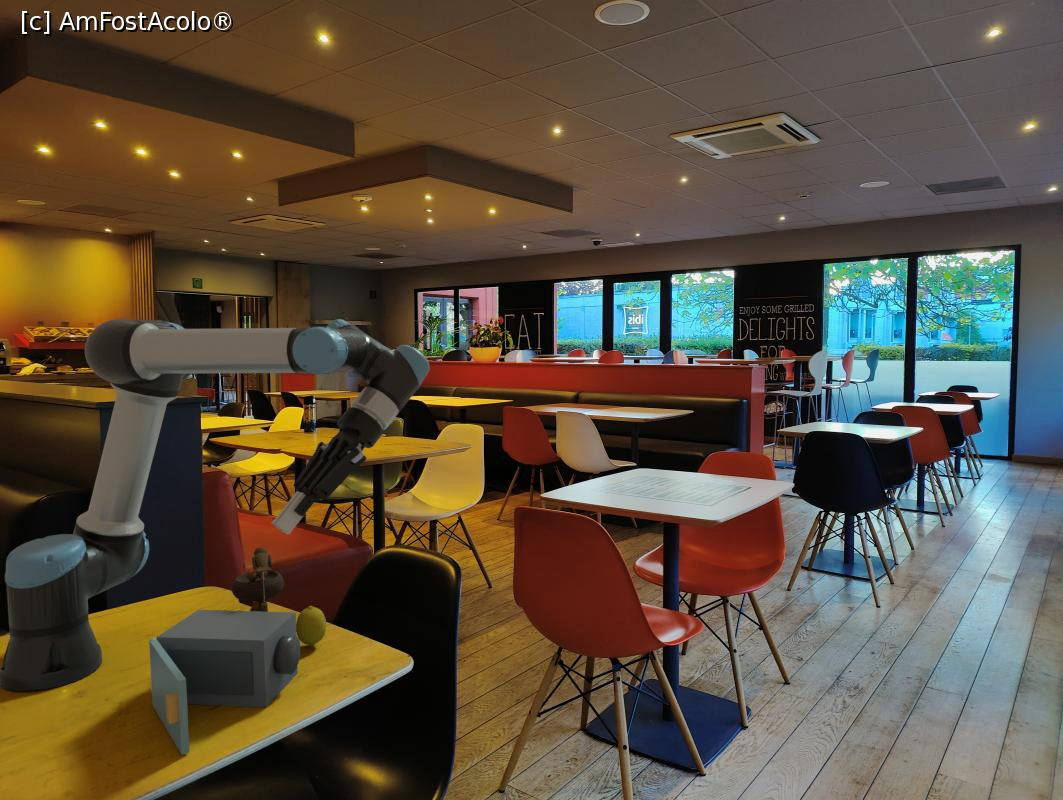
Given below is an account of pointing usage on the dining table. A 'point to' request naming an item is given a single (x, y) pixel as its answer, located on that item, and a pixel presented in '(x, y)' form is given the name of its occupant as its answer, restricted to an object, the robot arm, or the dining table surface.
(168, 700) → the side door
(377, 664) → the dining table surface
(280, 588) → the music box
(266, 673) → the case
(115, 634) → the dining table surface
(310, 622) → the lemon
